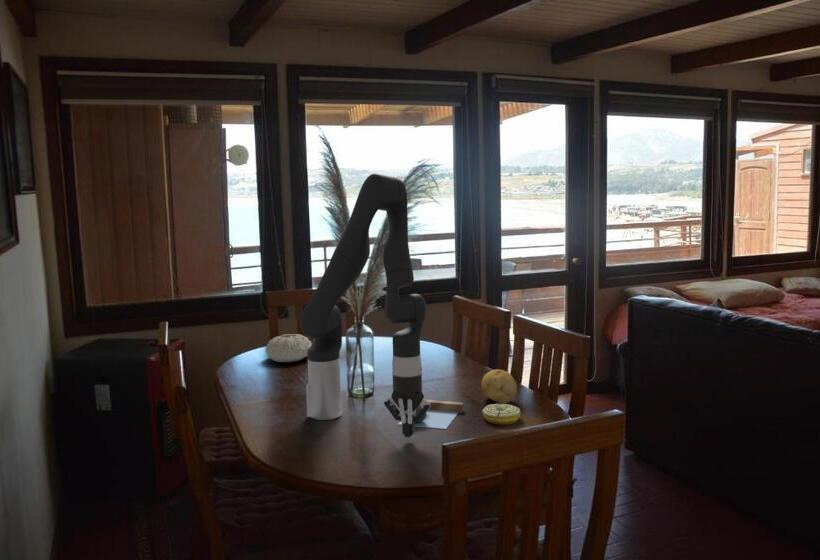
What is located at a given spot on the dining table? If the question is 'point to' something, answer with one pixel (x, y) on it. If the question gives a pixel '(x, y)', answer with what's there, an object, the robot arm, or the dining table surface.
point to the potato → (499, 386)
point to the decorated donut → (501, 414)
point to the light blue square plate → (436, 419)
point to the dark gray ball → (418, 413)
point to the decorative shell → (288, 348)
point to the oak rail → (446, 406)
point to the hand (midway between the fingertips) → (408, 436)
